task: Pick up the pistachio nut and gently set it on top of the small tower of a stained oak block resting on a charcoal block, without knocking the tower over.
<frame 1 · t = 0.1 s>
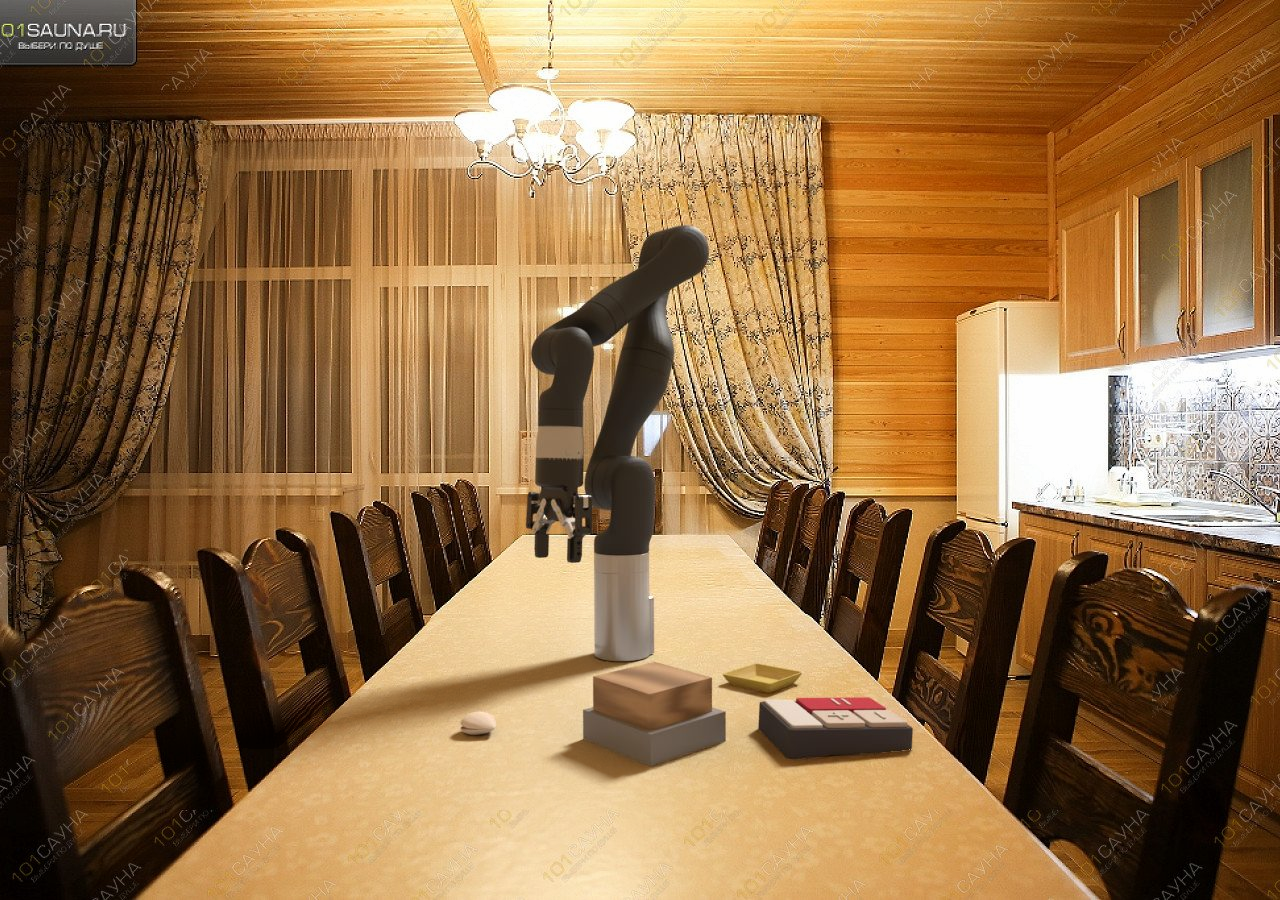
hand: (557, 559, 135), 17 cm above the table, tool pointing down, fingers open, 8 cm apart
tower top block: (652, 710, 103), point 3 cm above the table
tower base block: (654, 744, 103), on the table
calculator: (832, 743, 103), on the table
pistachio nut: (481, 736, 105), on the table
yellow shallow square tray: (762, 688, 126), on the table
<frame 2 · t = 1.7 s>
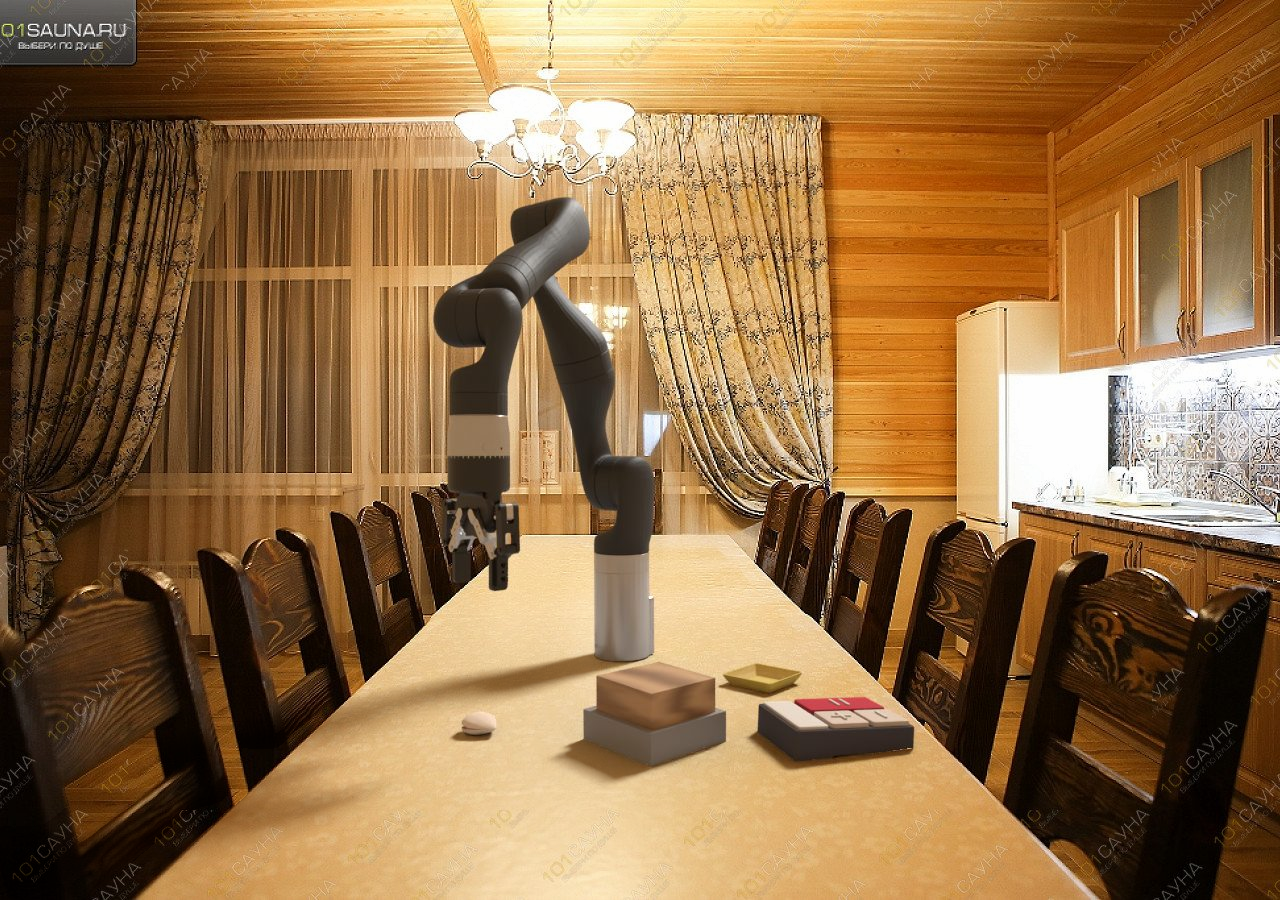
hand: (479, 586, 105), 18 cm above the table, tool pointing down, fingers open, 8 cm apart
tower top block: (655, 710, 102), point 4 cm above the table, touching tower base block
tower base block: (654, 743, 103), on the table, touching tower top block
everything else where it was.
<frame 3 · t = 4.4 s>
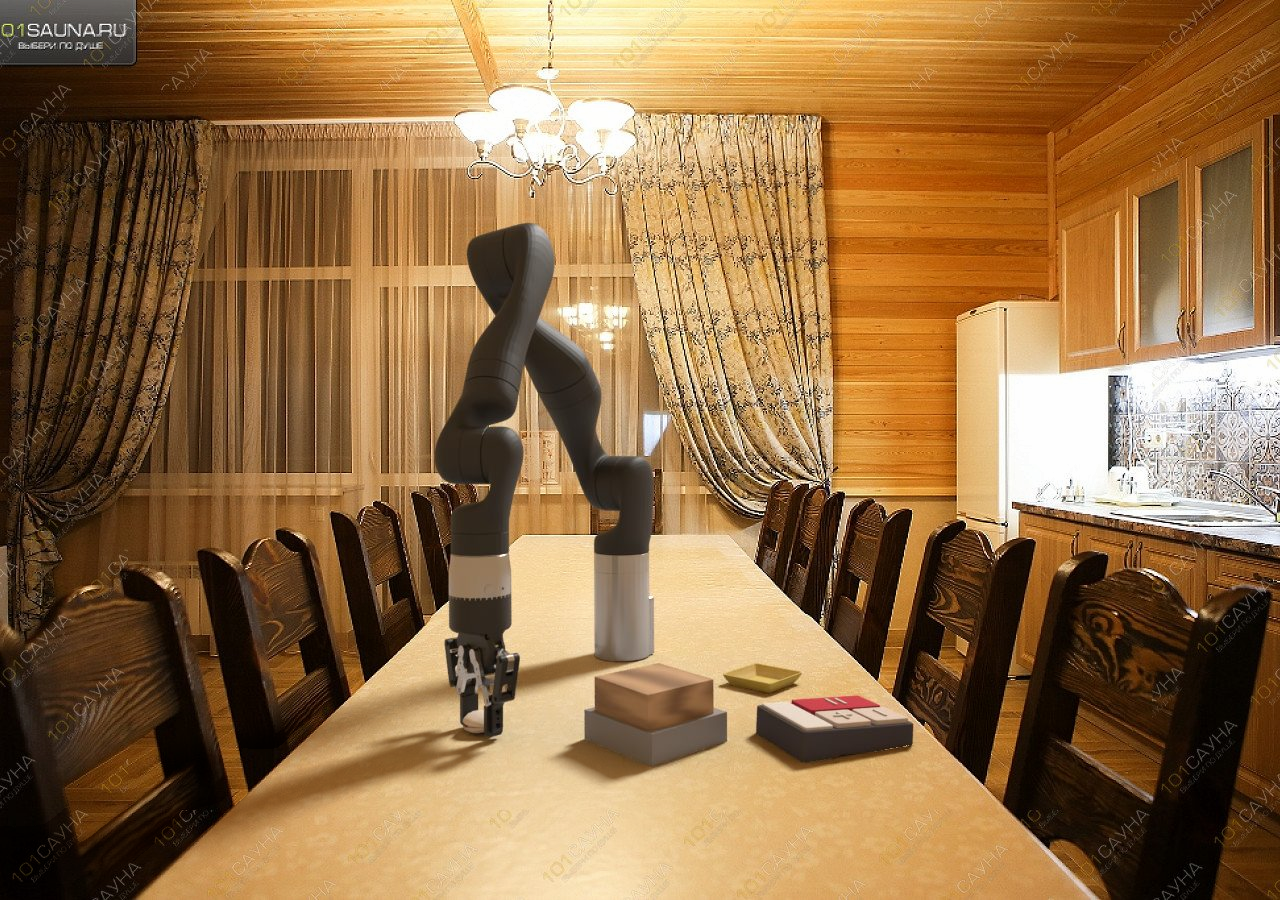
hand: (481, 729, 105), 1 cm above the table, tool pointing down, fingers closed on pistachio nut, 5 cm apart
pistachio nut: (483, 734, 105), on the table, touching gripper
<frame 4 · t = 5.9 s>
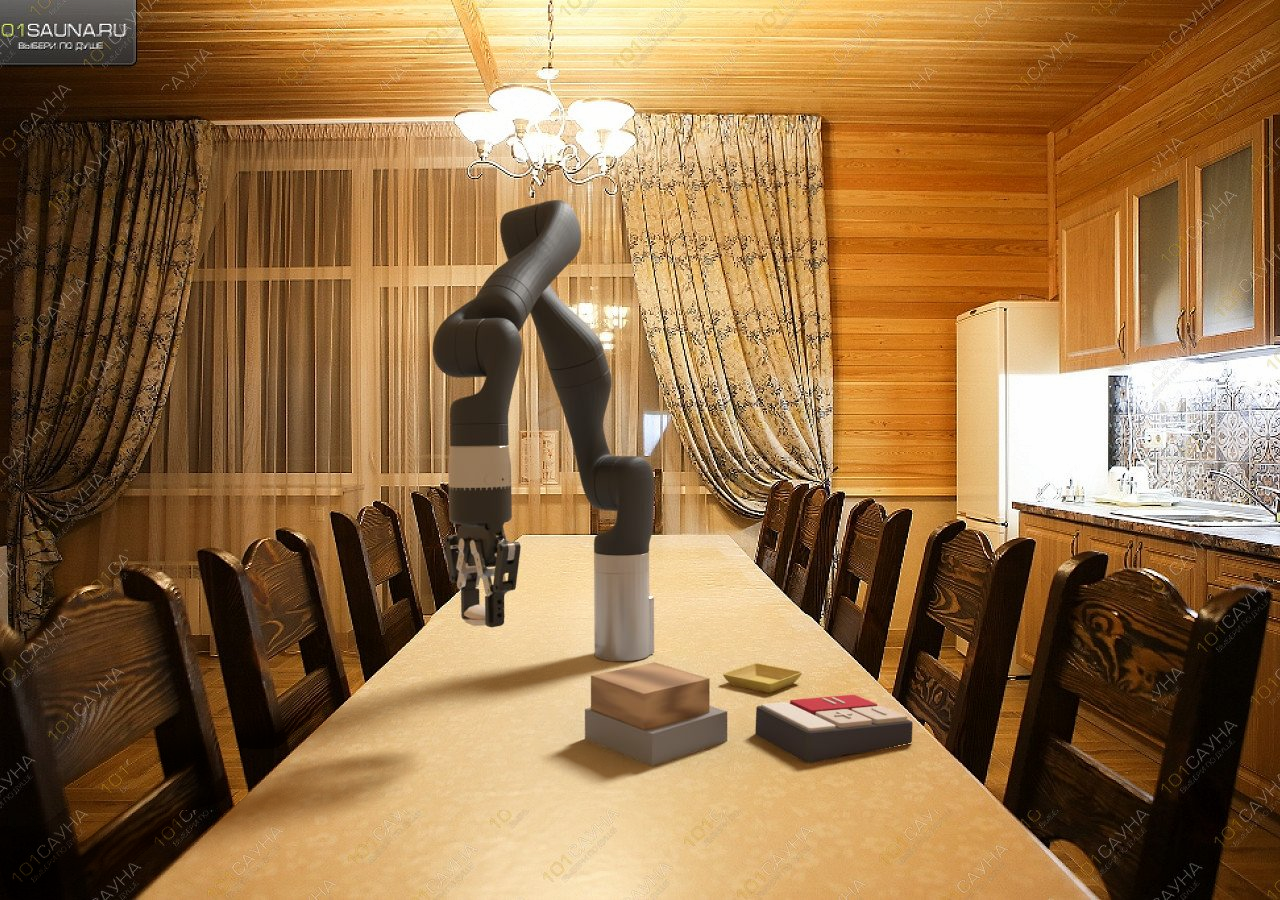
hand: (482, 621, 105), 14 cm above the table, tool pointing down, fingers closed on pistachio nut, 5 cm apart
pistachio nut: (484, 627, 106), point 13 cm above the table, touching gripper
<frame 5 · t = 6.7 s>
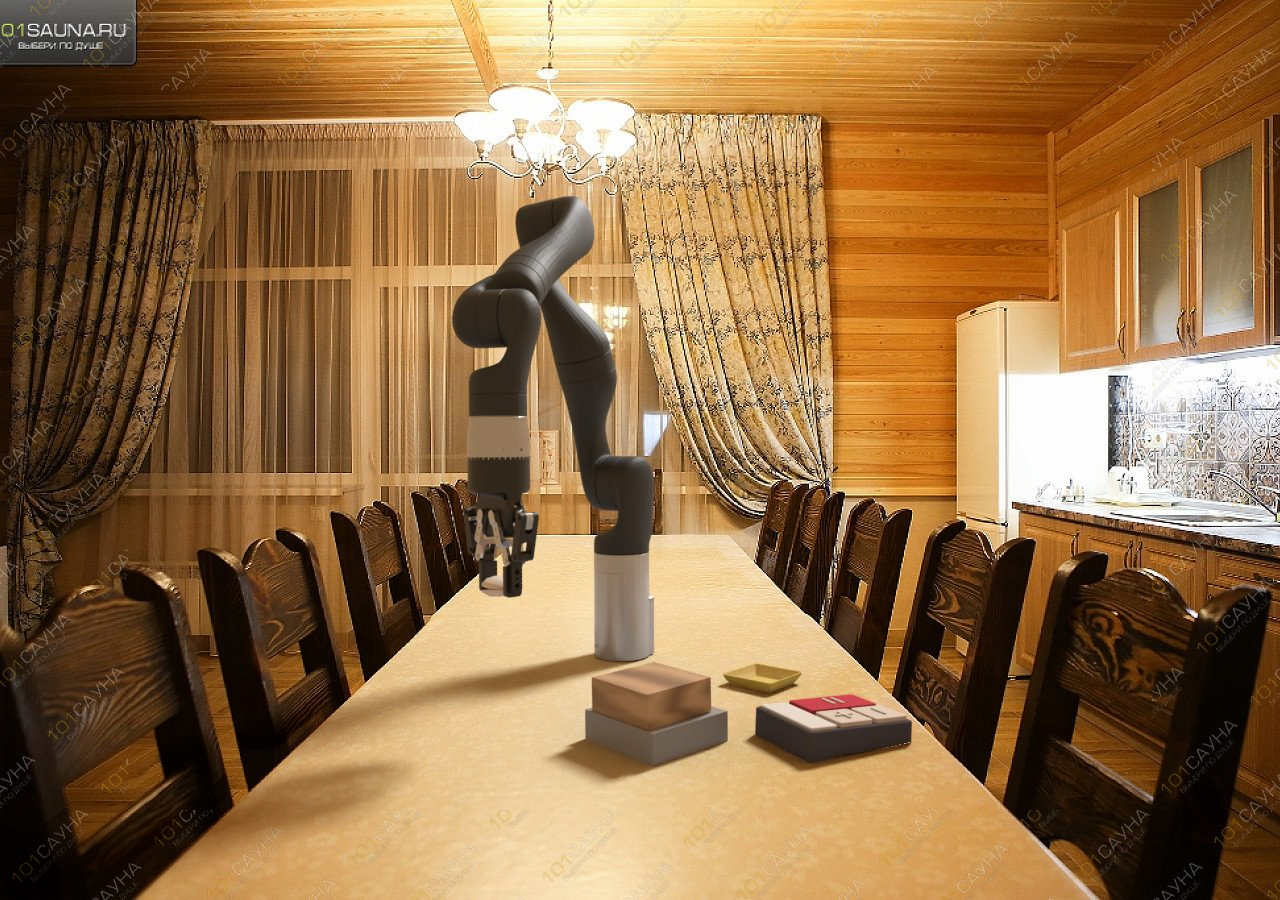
hand: (500, 593, 105), 17 cm above the table, tool pointing down, fingers closed on pistachio nut, 5 cm apart
pistachio nut: (502, 598, 105), point 16 cm above the table, touching gripper
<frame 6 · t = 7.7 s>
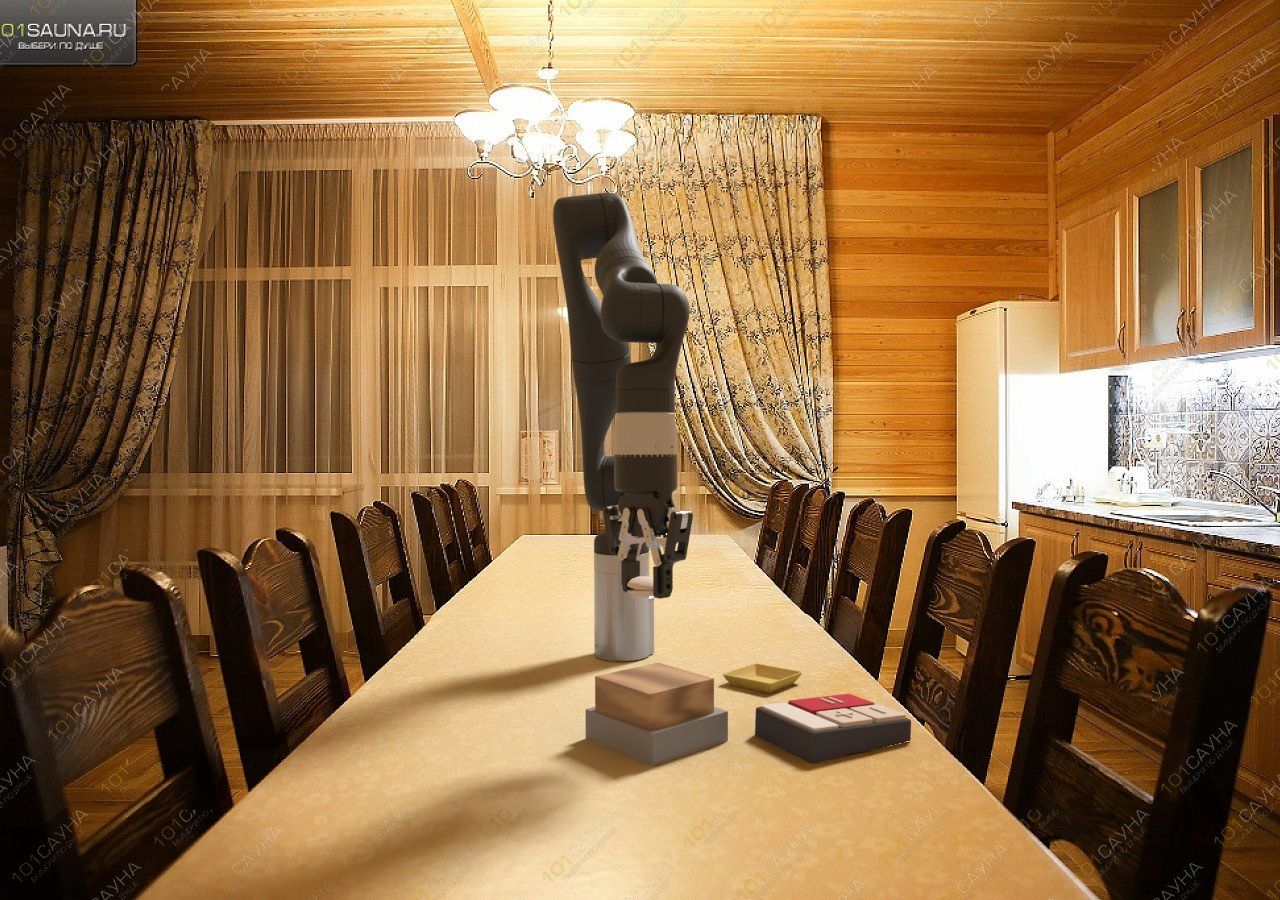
hand: (646, 593, 103), 17 cm above the table, tool pointing down, fingers closed on pistachio nut, 5 cm apart
pistachio nut: (647, 600, 103), point 17 cm above the table, touching gripper
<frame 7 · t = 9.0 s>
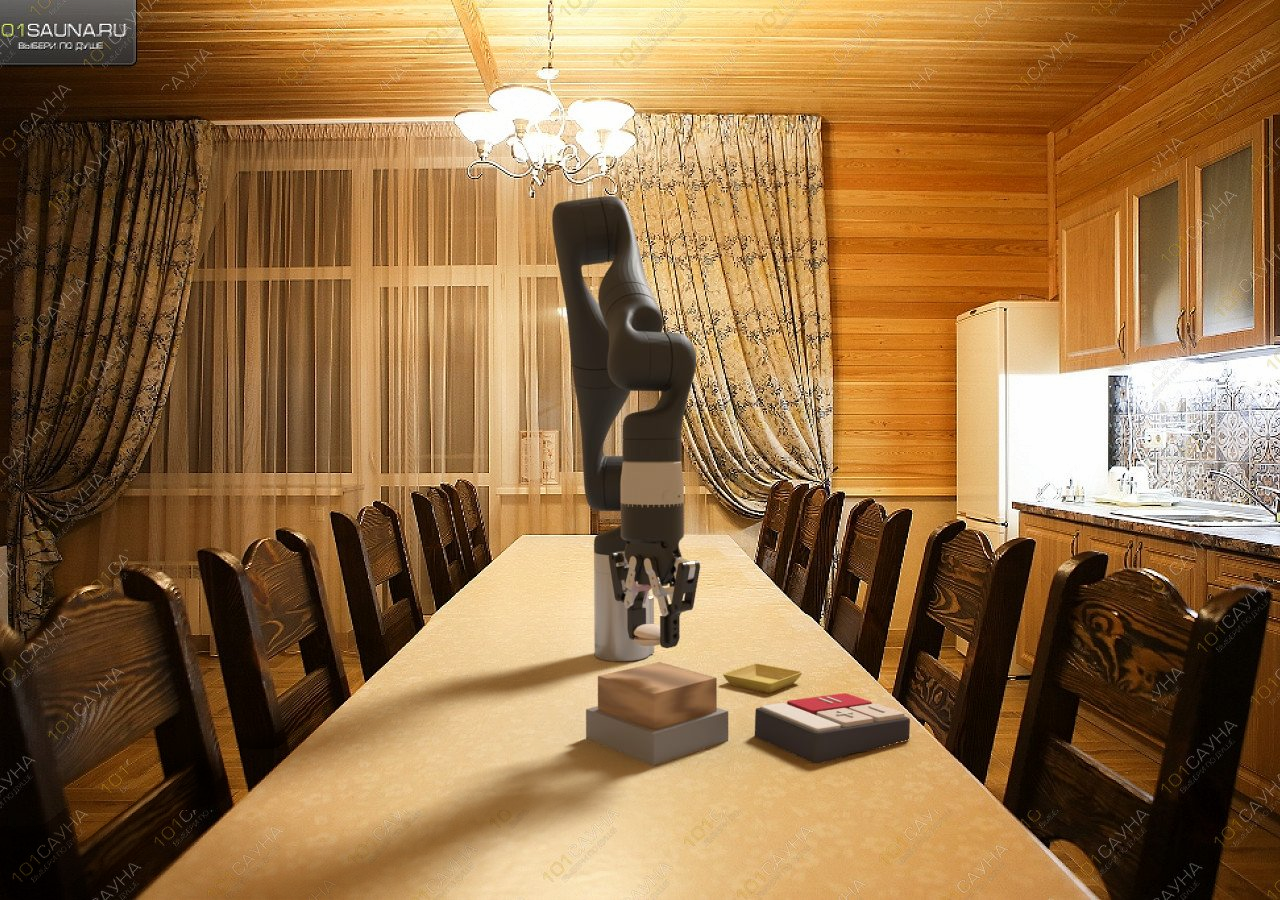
hand: (652, 642, 103), 12 cm above the table, tool pointing down, fingers closed on pistachio nut, 5 cm apart
pistachio nut: (654, 648, 103), point 11 cm above the table, touching gripper
when the fingers open (9 cm above the table, at t = 10.8 s): pistachio nut drops 1 cm, point 7 cm above the table.
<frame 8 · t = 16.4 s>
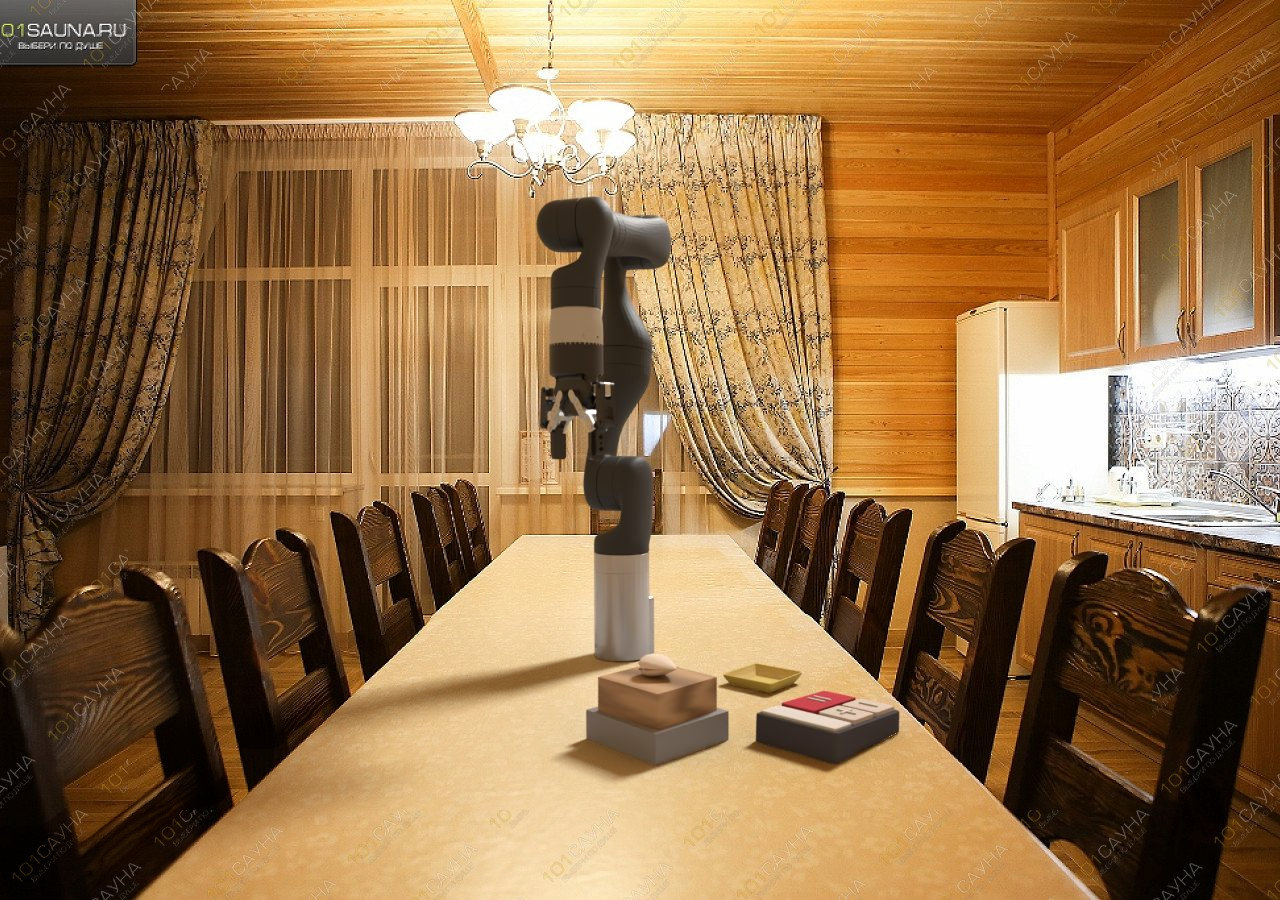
hand: (576, 459, 120), 33 cm above the table, tool pointing down, fingers open, 8 cm apart
pistachio nut: (659, 678, 103), point 7 cm above the table
at the end: pistachio nut inside the target area on the tower top block (0.2 cm from its centre), point 3.8 cm above the tower top block's base; tower top block tilted 0°; tower top block moved 0.7 cm from its start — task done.
